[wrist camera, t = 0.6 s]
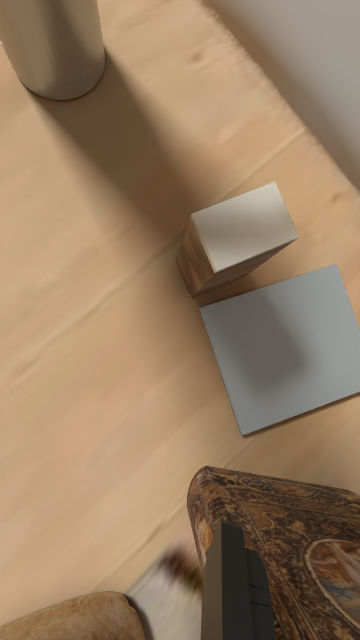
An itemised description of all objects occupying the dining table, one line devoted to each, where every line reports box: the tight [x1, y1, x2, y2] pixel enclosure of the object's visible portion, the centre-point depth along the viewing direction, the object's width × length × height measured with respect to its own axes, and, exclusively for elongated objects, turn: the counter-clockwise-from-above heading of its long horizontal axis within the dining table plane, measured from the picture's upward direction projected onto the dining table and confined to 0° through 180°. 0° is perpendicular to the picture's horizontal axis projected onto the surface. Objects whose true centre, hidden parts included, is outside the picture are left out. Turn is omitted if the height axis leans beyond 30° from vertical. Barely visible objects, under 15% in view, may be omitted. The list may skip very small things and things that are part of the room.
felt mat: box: [199, 264, 360, 436], centre depth 33 cm, size 13×15×1 cm
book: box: [187, 466, 360, 640], centre depth 19 cm, size 16×6×25 cm, turn 79°
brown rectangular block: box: [177, 182, 299, 297], centre depth 27 cm, size 4×6×12 cm, turn 113°
